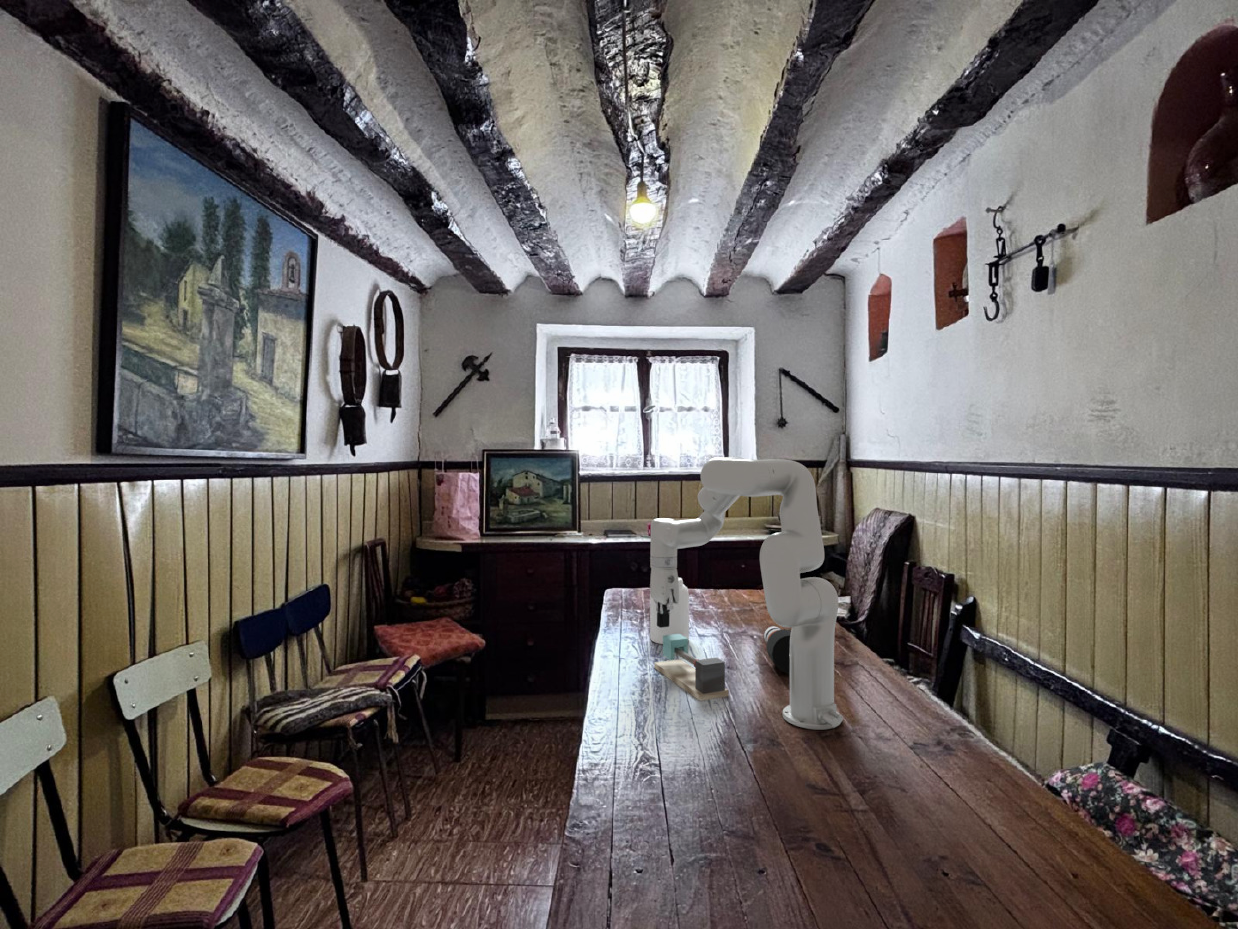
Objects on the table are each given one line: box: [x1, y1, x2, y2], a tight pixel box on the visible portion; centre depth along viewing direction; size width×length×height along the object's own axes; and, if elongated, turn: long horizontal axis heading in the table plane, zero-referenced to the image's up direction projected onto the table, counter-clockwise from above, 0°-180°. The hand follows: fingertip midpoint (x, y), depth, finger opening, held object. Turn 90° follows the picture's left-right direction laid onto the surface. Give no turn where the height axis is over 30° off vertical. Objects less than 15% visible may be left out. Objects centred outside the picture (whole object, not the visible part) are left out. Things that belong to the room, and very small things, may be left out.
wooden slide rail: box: [653, 647, 729, 702], centre depth 170 cm, size 26×8×8 cm, turn 22°
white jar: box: [649, 576, 690, 645], centre depth 208 cm, size 12×12×20 cm
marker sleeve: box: [662, 634, 689, 661], centre depth 177 cm, size 5×5×5 cm
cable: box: [763, 625, 791, 675], centre depth 190 cm, size 10×34×10 cm, turn 173°
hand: (663, 626), depth 184 cm, fingers closed
